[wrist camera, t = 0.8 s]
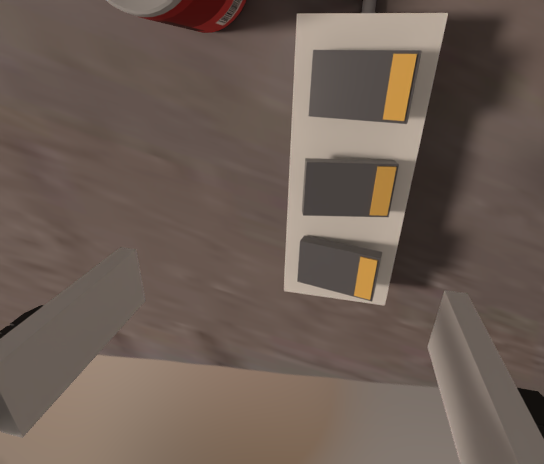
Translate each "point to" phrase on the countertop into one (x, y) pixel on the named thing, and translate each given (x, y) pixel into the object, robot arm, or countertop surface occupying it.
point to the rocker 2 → (338, 267)
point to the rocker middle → (348, 187)
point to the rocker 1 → (363, 84)
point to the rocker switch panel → (357, 133)
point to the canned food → (185, 12)
